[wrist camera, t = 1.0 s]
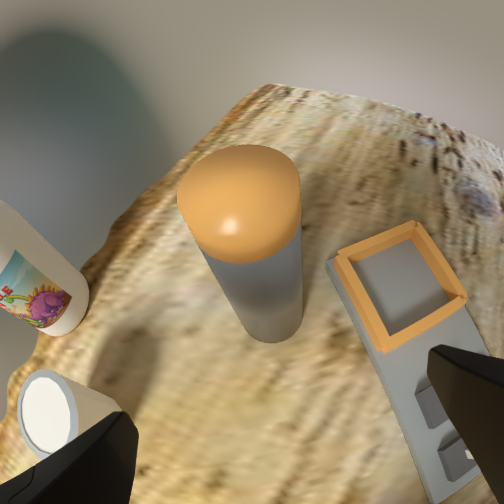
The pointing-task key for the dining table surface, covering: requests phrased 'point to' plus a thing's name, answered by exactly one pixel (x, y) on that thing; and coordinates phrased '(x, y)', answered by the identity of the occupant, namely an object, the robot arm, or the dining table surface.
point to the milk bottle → (38, 278)
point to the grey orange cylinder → (250, 234)
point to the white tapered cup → (58, 410)
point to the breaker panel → (411, 340)
